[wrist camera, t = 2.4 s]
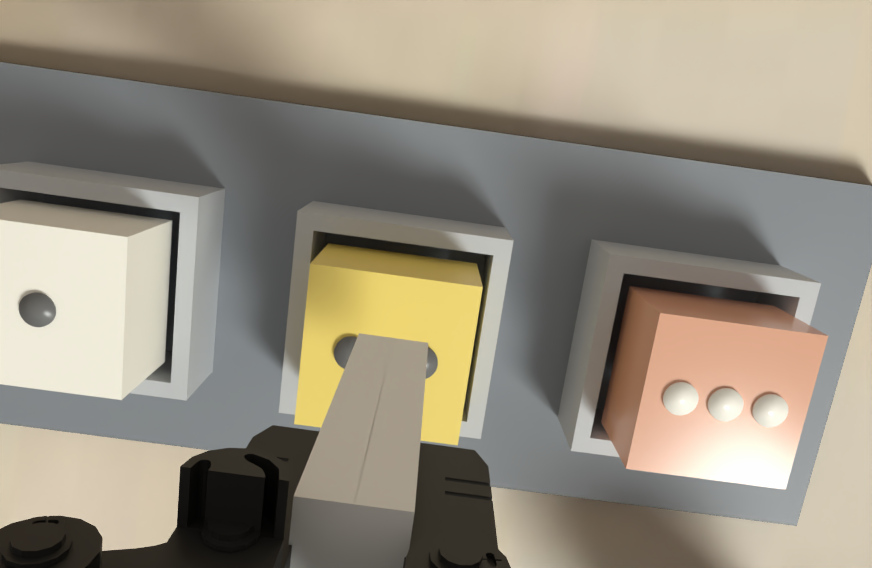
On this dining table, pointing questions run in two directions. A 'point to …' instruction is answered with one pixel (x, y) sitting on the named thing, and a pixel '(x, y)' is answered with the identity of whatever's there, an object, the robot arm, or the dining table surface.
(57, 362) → the tile ivory
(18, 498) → the dining table surface
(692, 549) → the dining table surface
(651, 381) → the tile terracotta
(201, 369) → the console
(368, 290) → the tile mustard
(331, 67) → the dining table surface
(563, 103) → the dining table surface
